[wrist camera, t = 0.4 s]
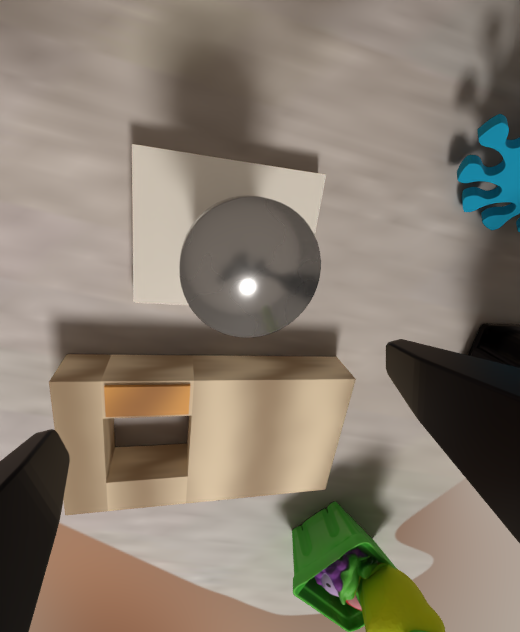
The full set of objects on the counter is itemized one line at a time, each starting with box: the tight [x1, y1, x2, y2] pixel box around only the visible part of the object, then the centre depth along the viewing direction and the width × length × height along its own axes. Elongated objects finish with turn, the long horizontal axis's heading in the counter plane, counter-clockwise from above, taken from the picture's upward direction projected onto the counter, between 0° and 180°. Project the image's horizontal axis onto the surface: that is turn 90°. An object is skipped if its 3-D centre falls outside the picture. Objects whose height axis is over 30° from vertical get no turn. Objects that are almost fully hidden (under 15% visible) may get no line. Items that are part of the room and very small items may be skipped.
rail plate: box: [49, 354, 356, 515], centre depth 23 cm, size 18×10×3 cm, turn 82°
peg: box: [179, 195, 321, 337], centre depth 15 cm, size 5×5×7 cm
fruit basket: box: [292, 502, 445, 632], centre depth 28 cm, size 11×9×11 cm
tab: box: [132, 144, 326, 305], centre depth 19 cm, size 10×8×1 cm
